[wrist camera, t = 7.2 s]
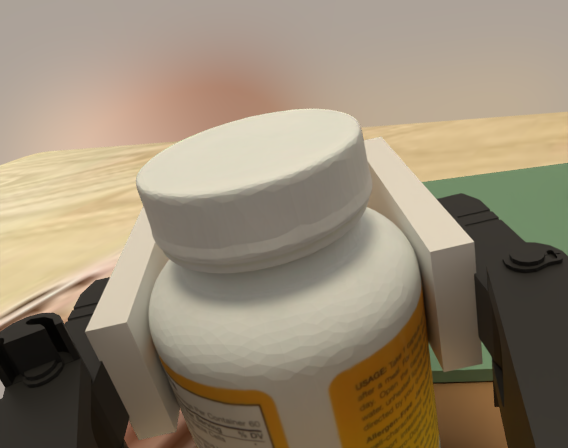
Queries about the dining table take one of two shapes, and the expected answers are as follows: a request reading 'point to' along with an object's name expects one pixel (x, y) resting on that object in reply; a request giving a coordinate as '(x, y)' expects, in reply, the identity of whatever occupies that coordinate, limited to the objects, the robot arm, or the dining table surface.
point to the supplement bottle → (286, 290)
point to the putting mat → (511, 225)
